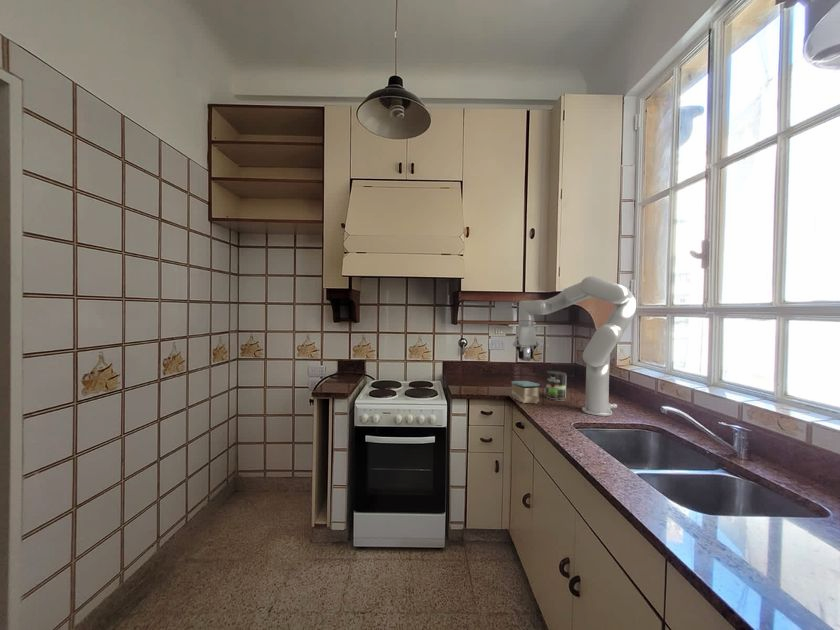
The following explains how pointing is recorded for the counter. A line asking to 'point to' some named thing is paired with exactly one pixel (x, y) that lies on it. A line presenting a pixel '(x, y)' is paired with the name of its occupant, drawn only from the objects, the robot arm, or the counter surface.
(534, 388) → the box
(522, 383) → the lid
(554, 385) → the glass terrarium
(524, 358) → the steel weight
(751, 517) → the counter surface
